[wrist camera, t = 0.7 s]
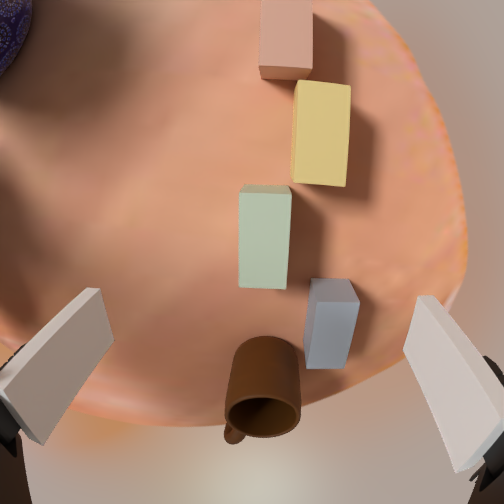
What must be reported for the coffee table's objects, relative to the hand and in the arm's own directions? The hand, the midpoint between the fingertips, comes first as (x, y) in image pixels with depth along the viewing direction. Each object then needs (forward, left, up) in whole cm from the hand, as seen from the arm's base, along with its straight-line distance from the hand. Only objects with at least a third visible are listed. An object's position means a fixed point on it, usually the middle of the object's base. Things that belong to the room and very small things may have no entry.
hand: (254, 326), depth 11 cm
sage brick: (0, -1, -18) cm, 18 cm away
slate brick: (+7, -10, -18) cm, 22 cm away
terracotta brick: (+1, +17, -18) cm, 25 cm away
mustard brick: (+4, +8, -18) cm, 20 cm away
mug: (0, -19, -18) cm, 26 cm away
